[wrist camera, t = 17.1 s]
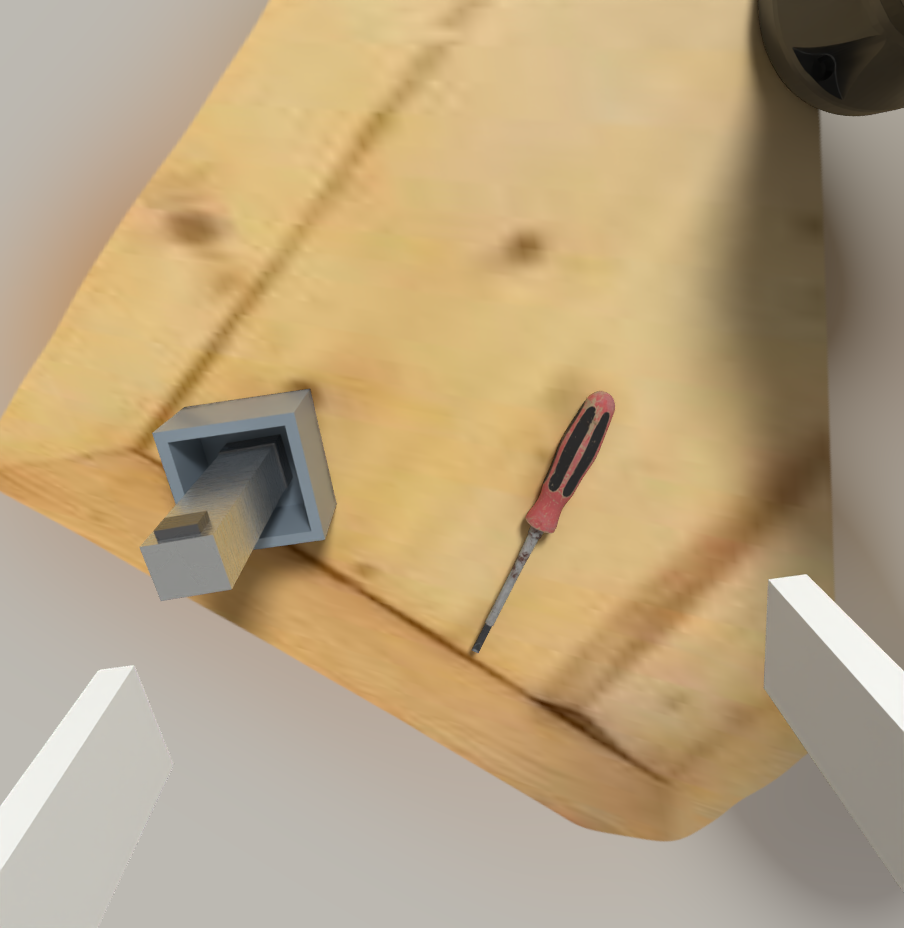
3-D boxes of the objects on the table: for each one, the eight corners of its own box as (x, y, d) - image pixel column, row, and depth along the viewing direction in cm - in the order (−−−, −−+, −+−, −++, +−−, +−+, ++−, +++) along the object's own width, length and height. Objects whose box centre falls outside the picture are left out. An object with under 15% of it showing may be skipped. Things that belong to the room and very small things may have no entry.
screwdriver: (489, 645, 58) (491, 668, 55) (458, 635, 58) (459, 657, 55) (619, 394, 50) (629, 405, 47) (584, 380, 49) (593, 390, 47)
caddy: (310, 388, 49) (294, 412, 43) (336, 504, 52) (325, 539, 47) (184, 407, 49) (152, 433, 44) (219, 520, 53) (193, 558, 47)
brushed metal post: (278, 427, 49) (211, 524, 34) (293, 477, 51) (234, 590, 36) (224, 437, 49) (133, 537, 34) (240, 486, 51) (159, 602, 36)
